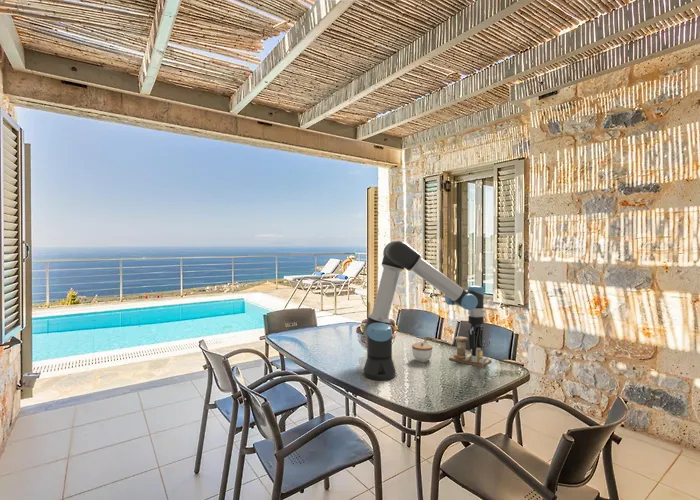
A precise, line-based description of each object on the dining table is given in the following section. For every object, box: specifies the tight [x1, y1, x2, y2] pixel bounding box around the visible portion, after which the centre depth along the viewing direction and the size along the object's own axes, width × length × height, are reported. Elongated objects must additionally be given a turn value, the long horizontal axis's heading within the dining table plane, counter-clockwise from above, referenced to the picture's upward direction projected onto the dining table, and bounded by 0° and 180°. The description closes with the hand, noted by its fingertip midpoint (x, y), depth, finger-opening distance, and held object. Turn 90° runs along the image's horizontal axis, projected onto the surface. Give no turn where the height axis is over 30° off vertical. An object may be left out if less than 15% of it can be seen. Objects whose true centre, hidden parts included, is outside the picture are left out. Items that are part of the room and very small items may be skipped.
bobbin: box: [453, 335, 470, 359], centre depth 192 cm, size 8×8×10 cm
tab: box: [470, 349, 484, 363], centre depth 183 cm, size 3×5×6 cm, turn 47°
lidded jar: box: [411, 342, 433, 363], centre depth 189 cm, size 11×11×9 cm
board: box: [449, 353, 492, 368], centre depth 189 cm, size 12×18×4 cm, turn 47°
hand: (476, 360), depth 184 cm, fingers closed on tab, 3 cm apart
